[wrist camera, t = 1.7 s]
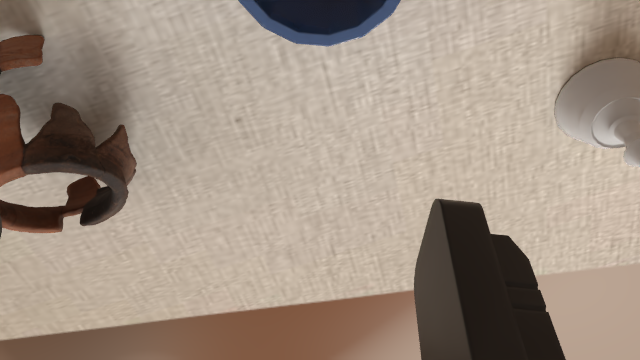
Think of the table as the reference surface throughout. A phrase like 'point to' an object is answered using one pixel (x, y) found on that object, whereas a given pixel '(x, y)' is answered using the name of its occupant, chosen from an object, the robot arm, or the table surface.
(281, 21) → the cup
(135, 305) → the table surface
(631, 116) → the chalice
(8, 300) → the table surface
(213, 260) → the table surface
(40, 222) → the broken pottery
